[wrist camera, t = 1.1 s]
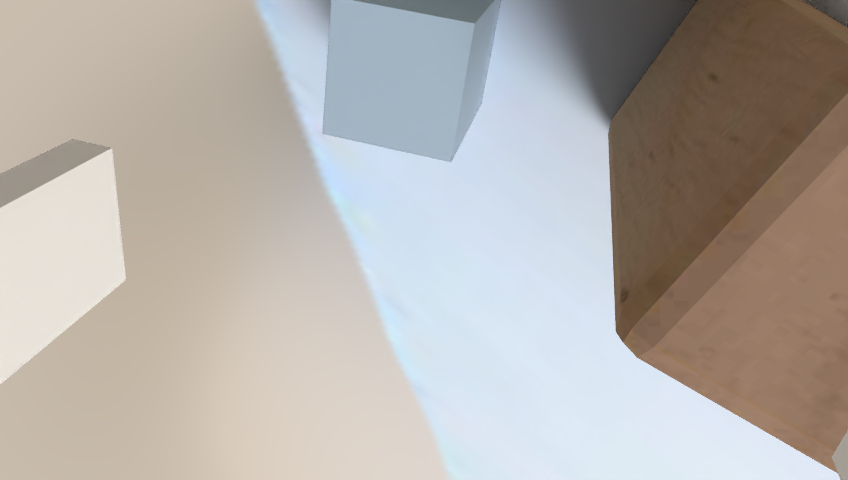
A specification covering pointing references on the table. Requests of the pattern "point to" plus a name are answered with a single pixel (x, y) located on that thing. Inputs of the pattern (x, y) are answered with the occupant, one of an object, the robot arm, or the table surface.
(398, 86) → the slate blue block
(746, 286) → the wooden block
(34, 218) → the robot arm
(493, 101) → the table surface
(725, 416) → the table surface
